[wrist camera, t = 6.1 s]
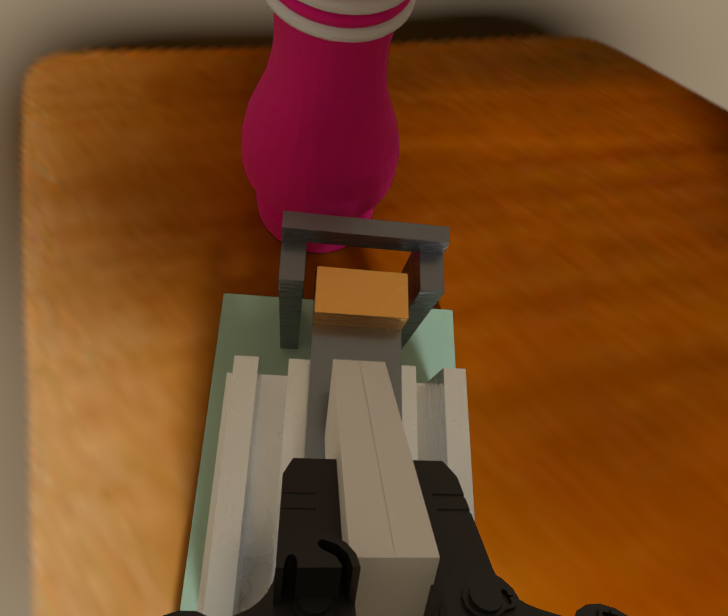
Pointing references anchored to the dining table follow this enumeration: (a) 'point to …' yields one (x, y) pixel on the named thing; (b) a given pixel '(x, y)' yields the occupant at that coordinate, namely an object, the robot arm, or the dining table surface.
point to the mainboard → (262, 339)
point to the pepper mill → (324, 112)
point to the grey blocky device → (289, 407)
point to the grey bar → (352, 335)
